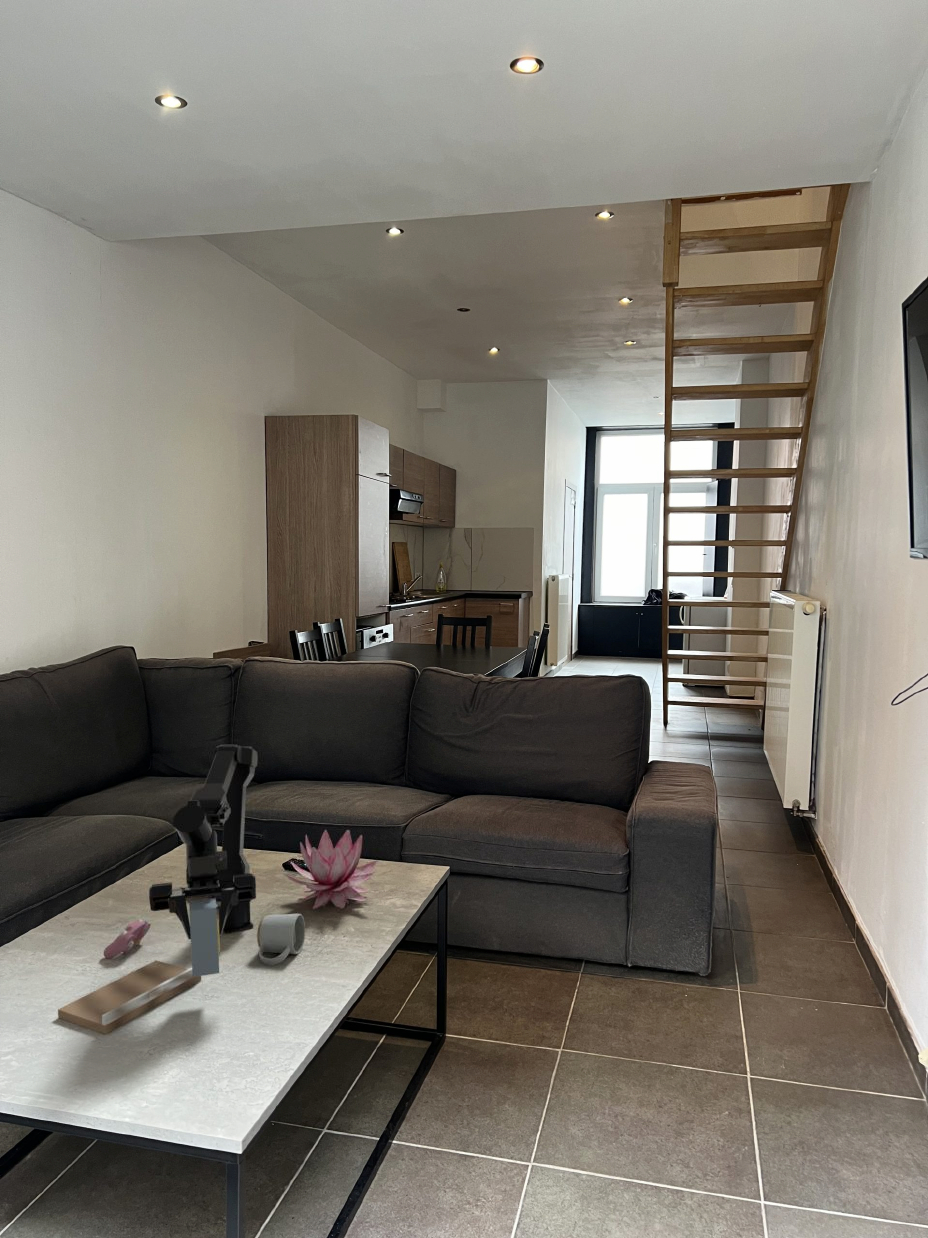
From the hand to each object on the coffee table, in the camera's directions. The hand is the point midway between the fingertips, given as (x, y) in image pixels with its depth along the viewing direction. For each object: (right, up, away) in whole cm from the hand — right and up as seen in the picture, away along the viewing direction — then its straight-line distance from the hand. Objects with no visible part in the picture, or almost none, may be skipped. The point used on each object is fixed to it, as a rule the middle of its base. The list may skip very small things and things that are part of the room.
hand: (205, 936), depth 160 cm
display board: (-14, -12, +3) cm, 19 cm away
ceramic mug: (+9, -11, +21) cm, 26 cm away
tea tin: (0, -7, +2) cm, 7 cm away
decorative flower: (+16, -10, +50) cm, 53 cm away
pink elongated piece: (-23, -12, +24) cm, 35 cm away
